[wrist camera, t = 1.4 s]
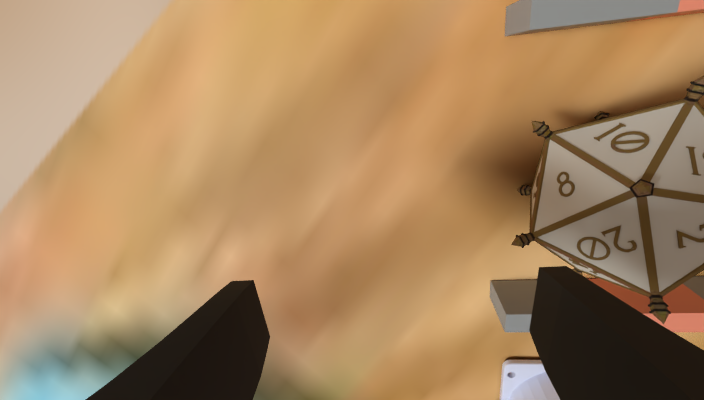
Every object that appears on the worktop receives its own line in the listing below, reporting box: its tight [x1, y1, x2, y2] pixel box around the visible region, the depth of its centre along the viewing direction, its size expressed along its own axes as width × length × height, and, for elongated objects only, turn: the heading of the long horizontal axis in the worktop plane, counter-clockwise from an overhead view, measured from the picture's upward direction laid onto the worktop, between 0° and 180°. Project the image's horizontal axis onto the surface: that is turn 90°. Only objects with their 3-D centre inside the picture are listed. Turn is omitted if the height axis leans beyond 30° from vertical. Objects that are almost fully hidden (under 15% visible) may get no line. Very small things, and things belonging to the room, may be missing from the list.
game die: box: [511, 76, 704, 324], centre depth 14 cm, size 9×8×10 cm
